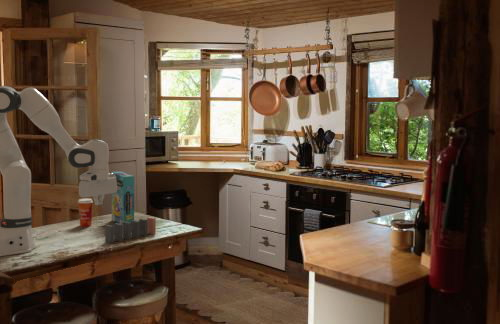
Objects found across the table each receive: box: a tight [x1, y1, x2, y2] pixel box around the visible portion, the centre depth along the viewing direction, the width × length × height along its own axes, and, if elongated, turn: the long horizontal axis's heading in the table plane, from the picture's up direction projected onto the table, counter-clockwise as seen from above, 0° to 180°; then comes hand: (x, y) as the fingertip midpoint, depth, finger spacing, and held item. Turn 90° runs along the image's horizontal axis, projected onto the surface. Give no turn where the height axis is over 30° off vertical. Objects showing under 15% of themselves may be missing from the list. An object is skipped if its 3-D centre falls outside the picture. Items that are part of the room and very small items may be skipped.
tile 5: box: [138, 218, 149, 237], centre depth 273 cm, size 2×4×8 cm, turn 49°
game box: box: [111, 171, 135, 225], centre depth 298 cm, size 20×6×27 cm, turn 31°
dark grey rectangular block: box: [104, 224, 115, 244], centre depth 258 cm, size 2×4×8 cm, turn 50°
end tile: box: [147, 216, 157, 235], centre depth 277 cm, size 2×4×8 cm, turn 49°
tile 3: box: [123, 221, 132, 240], centre depth 266 cm, size 2×4×8 cm, turn 49°
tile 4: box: [131, 219, 141, 239], centre depth 269 cm, size 2×4×8 cm, turn 49°
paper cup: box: [77, 198, 94, 228], centre depth 291 cm, size 8×8×14 cm
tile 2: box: [113, 222, 124, 243], centre depth 262 cm, size 2×4×8 cm, turn 49°
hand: (98, 204), depth 254 cm, fingers closed
